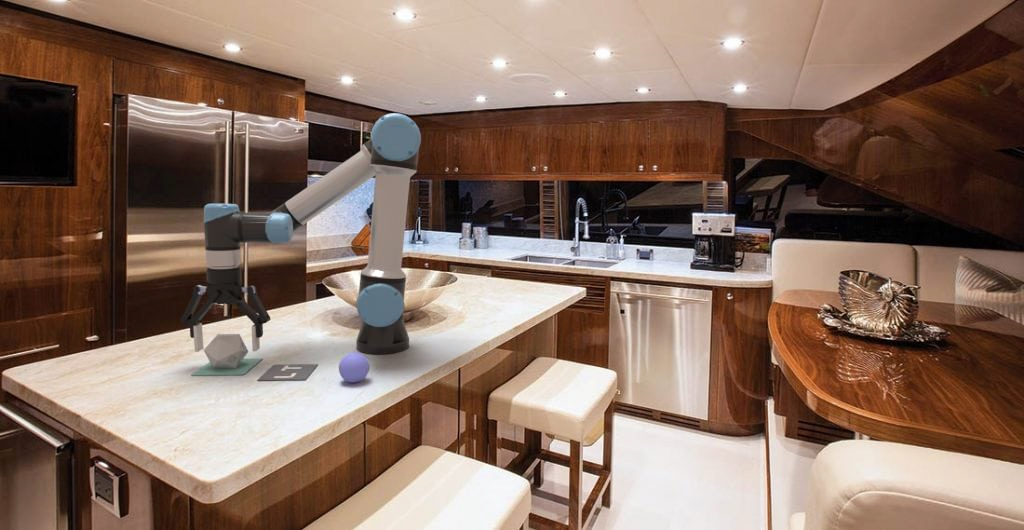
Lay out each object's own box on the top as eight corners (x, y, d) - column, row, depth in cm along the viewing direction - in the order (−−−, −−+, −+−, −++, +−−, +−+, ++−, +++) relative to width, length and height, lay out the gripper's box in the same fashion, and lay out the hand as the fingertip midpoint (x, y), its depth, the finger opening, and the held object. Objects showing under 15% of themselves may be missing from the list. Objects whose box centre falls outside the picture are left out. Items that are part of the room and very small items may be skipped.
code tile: (317, 365, 131) (317, 364, 131) (305, 380, 121) (305, 379, 121) (273, 365, 130) (273, 364, 130) (257, 381, 119) (257, 379, 119)
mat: (262, 359, 135) (262, 358, 135) (244, 375, 123) (243, 374, 123) (214, 359, 133) (214, 358, 133) (191, 375, 121) (191, 374, 121)
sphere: (369, 375, 125) (369, 348, 124) (369, 385, 119) (369, 357, 118) (339, 377, 123) (339, 349, 123) (337, 387, 117) (337, 358, 116)
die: (220, 377, 122) (247, 341, 124) (189, 357, 122) (217, 322, 125) (235, 377, 130) (260, 344, 133) (206, 359, 130) (232, 326, 133)
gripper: (281, 265, 130) (284, 345, 133) (177, 263, 127) (182, 345, 130) (271, 269, 122) (274, 354, 125) (160, 268, 119) (166, 354, 122)
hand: (227, 350), depth 127 cm, fingers open, 13 cm apart
